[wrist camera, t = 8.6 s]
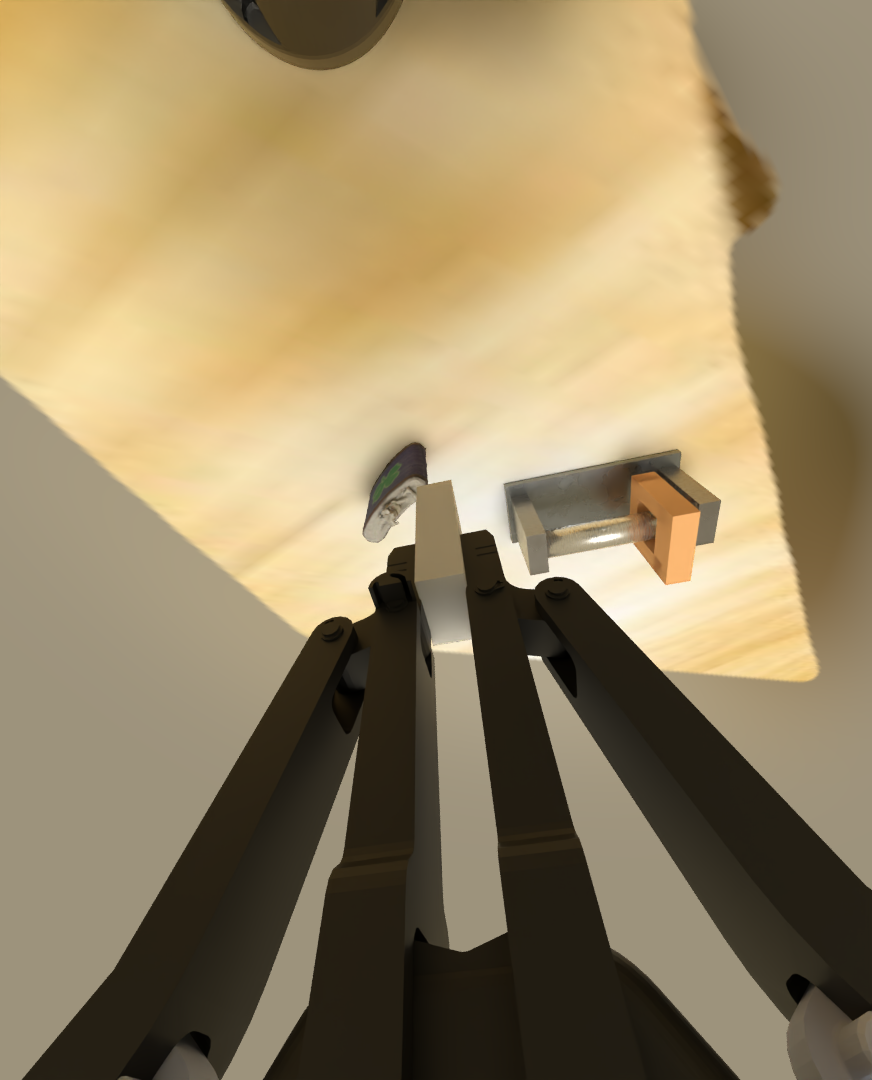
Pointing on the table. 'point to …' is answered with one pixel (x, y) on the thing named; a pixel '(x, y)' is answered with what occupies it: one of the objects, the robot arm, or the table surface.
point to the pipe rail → (596, 508)
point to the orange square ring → (666, 527)
